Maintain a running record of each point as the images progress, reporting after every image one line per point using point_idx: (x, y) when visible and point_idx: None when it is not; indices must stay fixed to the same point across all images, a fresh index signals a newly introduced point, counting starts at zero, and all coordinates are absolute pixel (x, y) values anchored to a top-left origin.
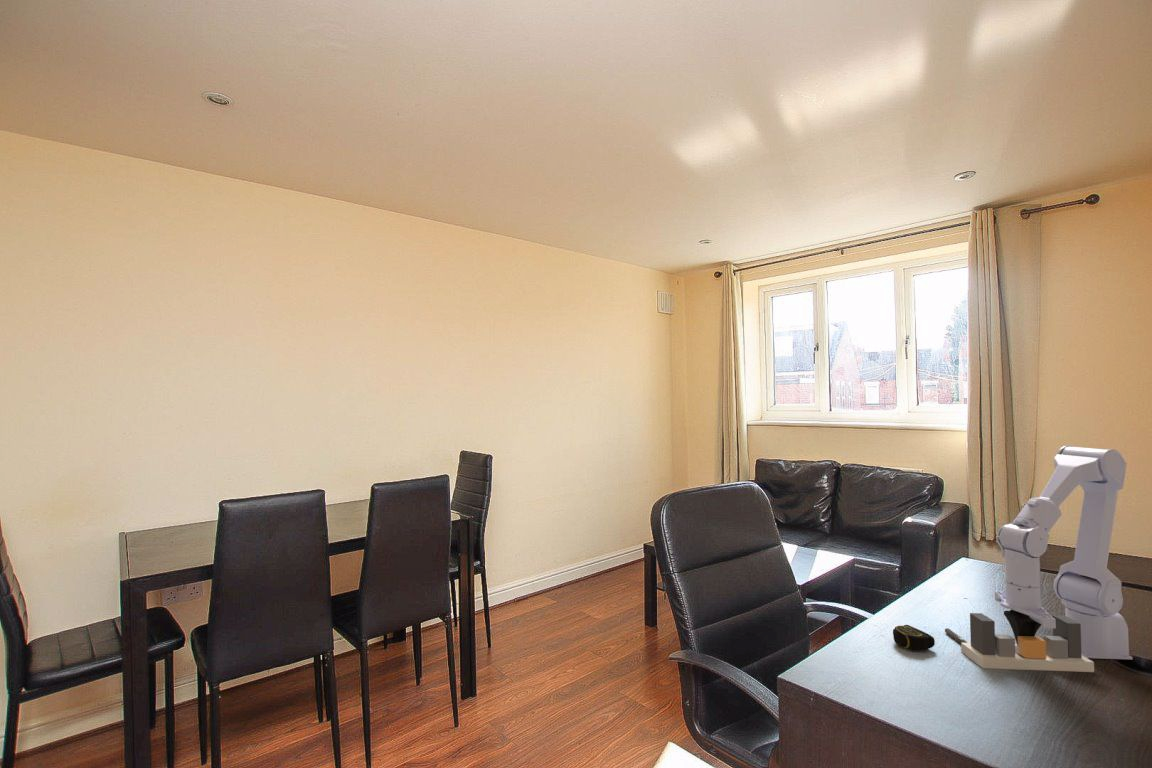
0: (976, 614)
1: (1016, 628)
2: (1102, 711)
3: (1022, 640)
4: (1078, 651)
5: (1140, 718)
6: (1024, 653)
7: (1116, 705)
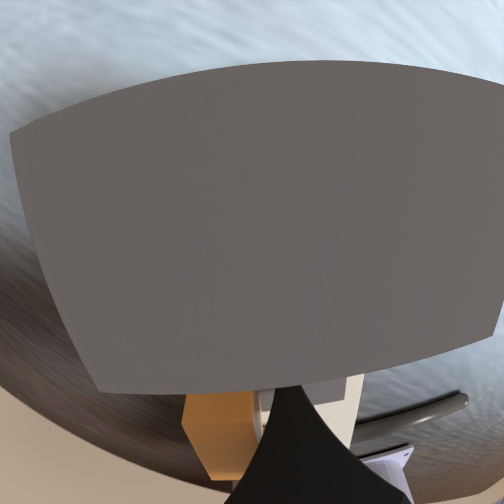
0: (476, 199)
1: (273, 462)
2: (4, 355)
3: (201, 415)
4: None
5: (21, 400)
6: None
7: (51, 402)
